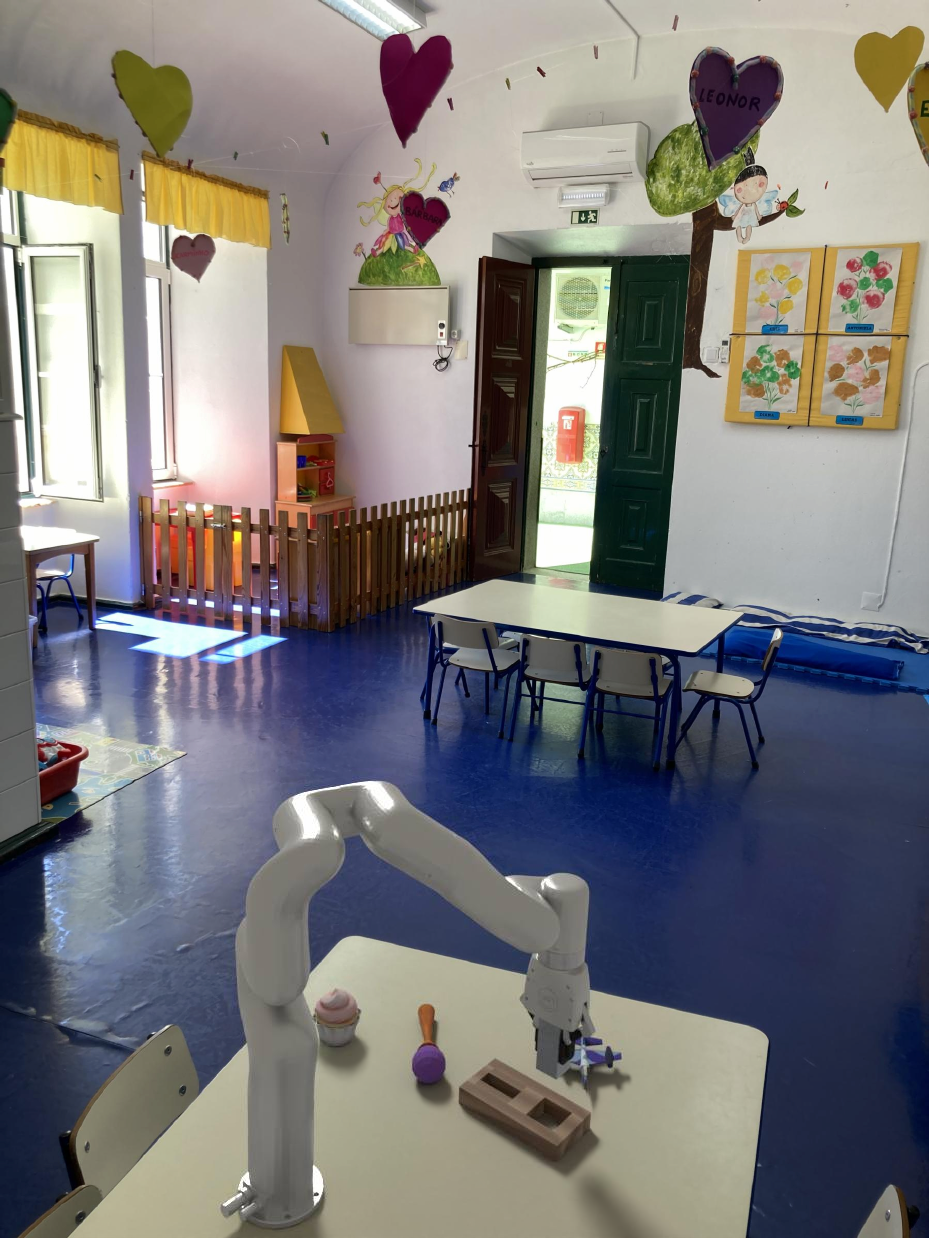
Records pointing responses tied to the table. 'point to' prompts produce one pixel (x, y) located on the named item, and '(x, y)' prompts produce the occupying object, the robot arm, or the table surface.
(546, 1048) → the square peg
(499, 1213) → the table surface
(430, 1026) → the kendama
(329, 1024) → the cupcake
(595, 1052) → the toy airplane
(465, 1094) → the socket block
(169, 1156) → the table surface
